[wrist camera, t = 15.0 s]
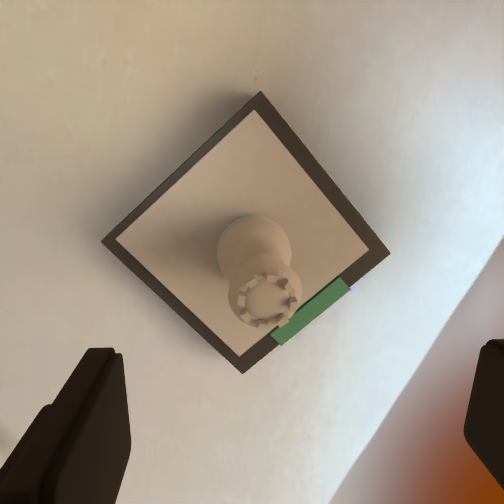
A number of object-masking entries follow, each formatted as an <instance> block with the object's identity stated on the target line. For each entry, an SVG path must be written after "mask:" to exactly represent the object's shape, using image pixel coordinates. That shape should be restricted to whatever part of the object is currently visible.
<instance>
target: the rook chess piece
mask: <svg viewBox="0 0 504 504" xmlns="http://www.w3.org/2000/svg"><path fill="white" fill-rule="evenodd" d="M216 254H217V259H218V262H219V266H220V270H221V272H222V273H223V275H224V276H225V277H226V278H227V280H228V281H229V282H230V284H229V291H228V300H229V304H230V307H231V310H232V311H233V313H234V314H235V315H236V316H237V317H238V319H239V320H240V321H242V322H244V323H246V324H248V325H250V326H252V327H257V330H264V331H268V328H269V327H273V326H277V325H278V326H279V328H281V327H282V326H284V325H285V324H287V323H288V322H289V318H291V317H292V316H293V314H294V313H295V312H296V310H297V308H298V307H299V305H300V301H301V296H302V288H301V283H300V279H299V277H298V276H297V275H296V273H295V272H294V270H293V269H292V268H291V267H289V266H290V261H291V256H292V252H291V248H290V243H289V240H288V236H287V235H286V233H285V232H284V231H283V229H282V228H281V226H280V225H279V224H277V223H275V222H274V221H272V220H270V219H269V218H267V217H261V216H254V215H251V216H247V217H243V218H239V219H237V220H236V221H234V222H233V223H232V224H230V225H229V226H227V227H226V228H225V230H224V232H223V233H222V235H221V236H220V238H219V240H218V246H217V253H216Z"/></svg>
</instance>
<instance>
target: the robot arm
mask: <svg viewBox="0 0 504 504" xmlns="http://www.w3.org/2000/svg"><path fill="white" fill-rule="evenodd" d="M464 436H465V439H466V441H467V443H468V444H469V446H470V447H471V448H472V450H473V451H474V452H475V453H476V455H477V456H478V457H479V459H480V460H481V461H482V462H483V464H484V465H485V466H486V468H487V469H488V470H489V472H490V473H491V474H492V475H493V477H494V478H495V479H496V481H497V482H498V483H499V484H500V486H501V487H502V488H503V490H504V339H492V340H489V341H488V342H487V343H486V345H484V346H483V347H482V348H481V350H480V354H479V359H478V364H477V368H476V373H475V378H474V382H473V387H472V391H471V397H470V401H469V406H468V410H467V415H466V419H465V424H464ZM130 451H131V434H130V424H129V414H128V404H127V394H126V385H125V375H124V365H123V357H122V354H121V353H115V350H114V348H89V349H88V350H87V351H86V353H85V354H84V356H83V357H82V359H81V360H80V362H79V363H78V365H77V366H76V368H75V369H74V371H73V373H72V374H71V376H70V377H69V379H68V380H67V382H66V383H65V385H64V386H63V388H62V389H61V391H60V392H59V394H58V395H57V397H56V399H55V400H54V402H53V403H52V404H48V405H46V406H44V407H43V408H42V409H41V410H40V412H39V413H38V415H37V416H36V418H35V419H34V421H33V422H32V423H31V425H30V426H29V428H28V429H27V431H26V432H25V434H24V435H23V437H22V438H21V440H20V441H19V443H18V444H17V446H16V447H15V448H14V450H13V451H12V453H11V454H10V456H9V457H8V459H7V460H6V462H5V463H4V465H3V466H2V468H1V469H0V504H115V502H116V499H117V495H118V492H119V489H120V486H121V482H122V479H123V476H124V473H125V469H126V466H127V463H128V459H129V456H130Z"/></svg>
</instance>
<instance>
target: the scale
mask: <svg viewBox="0 0 504 504" xmlns="http://www.w3.org/2000/svg"><path fill="white" fill-rule="evenodd" d="M251 215H254V216H261V217H267V218H269V219H270V220H272V221H274V222H275V223H277V224H279V225H280V226H281V228H282V229H283V231H284V232H285V233H286V235H287V236H288V240H289V243H290V248H291V252H292V256H291V261H290V266H289V267H291V268H292V269H293V270H294V272H295V273H296V275H297V276H298V277H299V279H300V283H301V288H302V296H301V301H300V305H299V307H298V308H297V310H296V312H295V313H294V314H293V316H292V317H291V318H289V322H288V323H287V324H285V325H284V326H282V327H281V328H279V326H278V325H277V326H273V327H269V328H268V331H264V330H257V327H252V326H250V325H248V324H246V323H244V322H242V321H240V320H239V319H238V317H237V316H236V315H235V314H234V313H233V311H232V310H231V307H230V304H229V300H228V291H229V284H230V282H229V281H228V280H227V278H226V277H225V276H224V275H223V273H222V272H221V270H220V266H219V262H218V259H217V254H216V253H217V246H218V240H219V238H220V236H221V235H222V233H223V232H224V230H225V228H226V227H227V226H229V225H230V224H232V223H233V222H234V221H236V220H237V219H239V218H243V217H247V216H251ZM101 243H102V244H104V245H105V246H106V247H107V248H108V249H109V250H110V251H111V252H112V253H113V254H114V255H115V256H116V257H117V258H119V259H120V260H121V261H122V262H123V263H124V264H125V265H126V266H127V267H128V268H129V269H130V270H131V271H132V272H134V273H135V274H136V275H137V276H138V277H139V278H140V279H141V280H142V281H143V282H144V283H145V284H146V285H147V286H149V287H150V288H151V289H152V290H153V291H154V292H155V293H156V294H157V295H158V296H159V297H160V298H161V299H162V300H164V301H165V302H166V303H167V304H168V305H169V306H170V307H171V308H172V309H173V310H174V311H175V312H176V313H177V314H179V315H180V316H181V317H182V318H183V319H184V320H185V321H186V322H187V323H188V324H189V325H190V326H191V327H192V328H194V329H195V330H196V331H197V332H198V333H199V334H200V335H201V336H202V337H203V338H204V339H205V340H206V341H207V342H209V343H210V344H211V345H212V346H213V347H214V348H215V349H216V350H217V351H218V352H219V353H220V354H221V355H222V356H224V357H225V358H226V359H227V360H228V361H229V362H230V363H231V364H232V365H233V366H234V367H235V368H236V369H238V370H239V371H240V372H241V373H242V374H243V373H245V372H246V371H247V370H248V369H250V368H251V367H252V366H253V365H255V364H256V363H257V362H258V361H259V360H261V359H262V358H263V357H264V356H266V355H267V354H268V353H269V352H270V351H272V350H273V349H274V348H275V347H277V346H278V345H279V344H280V345H281V346H282V345H283V344H284V343H285V342H287V341H288V340H289V339H290V338H291V337H293V336H294V335H295V334H296V333H298V332H299V331H300V330H301V329H303V328H304V327H305V326H306V325H307V324H309V323H310V322H311V321H312V320H314V319H315V318H316V317H317V316H318V315H320V314H321V313H322V312H323V311H325V310H326V309H327V308H328V307H330V306H331V305H332V304H333V303H334V302H336V301H337V300H338V299H339V298H341V297H342V296H343V295H344V294H346V293H347V292H348V291H349V290H350V288H349V287H350V286H352V285H353V284H354V283H355V282H356V281H358V280H359V279H360V278H361V277H363V276H364V275H365V274H366V273H368V272H369V271H370V270H371V269H372V268H374V267H375V266H376V265H377V264H379V263H380V262H381V261H382V260H383V259H385V258H386V257H387V256H388V255H390V254H391V253H390V251H389V250H388V249H387V248H386V246H385V245H384V244H383V243H382V241H381V240H380V239H379V238H378V236H377V235H376V234H375V233H374V231H373V230H372V229H371V228H370V226H369V225H368V224H367V223H366V221H365V220H364V219H363V218H362V216H361V215H360V214H359V213H358V211H357V210H356V209H355V208H354V206H353V205H352V204H351V203H350V201H349V200H348V199H347V198H346V196H345V195H344V194H343V193H342V191H341V190H340V189H339V188H338V186H337V185H336V184H335V183H334V181H333V180H332V179H331V178H330V176H329V175H328V174H327V173H326V171H325V170H324V169H323V168H322V166H321V165H320V164H319V163H318V162H317V160H316V159H315V158H314V157H313V155H312V154H311V153H310V152H309V150H308V149H307V148H306V147H305V145H304V144H303V143H302V142H301V140H300V139H299V138H298V137H297V135H296V134H295V133H294V132H293V130H292V129H291V128H290V127H289V125H288V124H287V123H286V122H285V120H284V119H283V118H282V117H281V115H280V114H279V113H278V112H277V110H276V109H275V108H274V107H273V105H272V104H271V103H270V102H269V100H268V99H267V98H266V97H265V95H264V94H263V93H262V92H261V91H260V92H259V93H258V94H257V95H256V96H254V97H253V98H252V99H251V100H250V101H249V102H248V103H247V104H246V105H245V106H244V107H243V108H242V109H241V110H240V111H239V112H237V113H236V114H235V115H234V116H233V117H232V118H231V119H230V120H229V121H228V122H227V123H226V124H225V125H224V126H223V127H222V128H220V129H219V130H218V131H217V132H216V133H215V134H214V135H213V136H212V137H211V138H210V139H209V140H208V141H207V142H206V143H205V144H203V145H202V146H201V147H200V148H199V149H198V150H197V151H196V152H195V153H194V154H193V155H192V156H191V157H190V158H189V159H188V160H186V161H185V162H184V163H183V164H182V165H181V166H180V167H179V168H178V169H177V170H176V171H175V172H174V173H173V174H172V175H171V176H169V177H168V178H167V179H166V180H165V181H164V182H163V183H162V184H161V185H160V186H159V187H158V188H157V189H156V190H155V191H154V192H152V193H151V194H150V195H149V196H148V197H147V198H146V199H145V200H144V201H143V202H142V203H141V204H140V205H139V206H138V207H137V208H135V209H134V210H133V211H132V212H131V213H130V214H129V215H128V216H127V217H126V218H125V219H124V220H123V221H122V222H121V223H120V224H118V225H117V226H116V227H115V228H114V229H113V230H112V231H111V232H110V233H109V234H108V235H107V236H106V237H105V238H104V239H103V240H101Z"/></svg>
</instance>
